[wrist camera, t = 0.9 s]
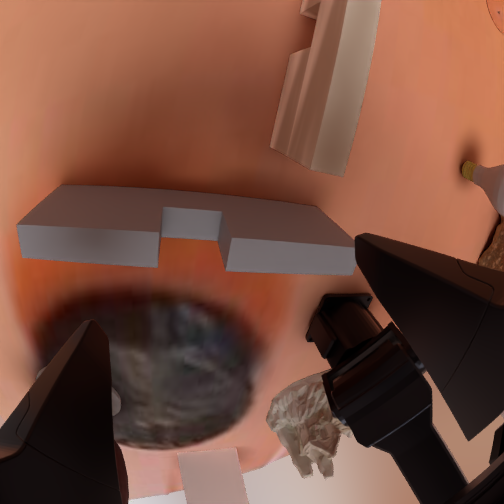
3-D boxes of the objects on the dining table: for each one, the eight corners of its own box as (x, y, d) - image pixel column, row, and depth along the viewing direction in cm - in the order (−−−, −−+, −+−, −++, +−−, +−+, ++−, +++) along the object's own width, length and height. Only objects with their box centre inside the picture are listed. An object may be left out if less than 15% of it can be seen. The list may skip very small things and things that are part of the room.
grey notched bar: (316, 206, 22) (362, 248, 16) (310, 228, 23) (351, 275, 17) (61, 184, 17) (16, 224, 11) (62, 210, 17) (22, 257, 12)
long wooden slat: (336, -40, 11) (387, -69, 6) (295, 151, 20) (343, 177, 14) (313, -49, 11) (360, -83, 5) (269, 146, 19) (310, 169, 13)
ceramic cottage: (255, 428, 41) (286, 502, 28) (286, 369, 34) (338, 467, 21) (330, 411, 46) (365, 471, 34) (371, 354, 40) (424, 422, 27)
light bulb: (444, 177, 24) (515, 217, 16) (461, 136, 22) (534, 166, 14) (463, 196, 26) (524, 235, 18) (479, 159, 24) (542, 190, 16)
